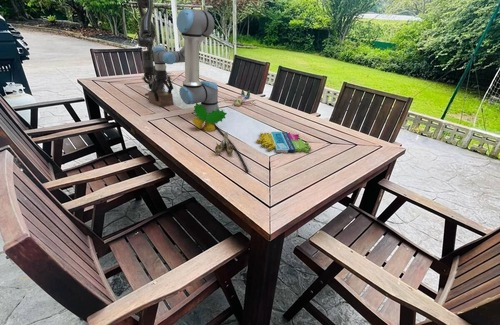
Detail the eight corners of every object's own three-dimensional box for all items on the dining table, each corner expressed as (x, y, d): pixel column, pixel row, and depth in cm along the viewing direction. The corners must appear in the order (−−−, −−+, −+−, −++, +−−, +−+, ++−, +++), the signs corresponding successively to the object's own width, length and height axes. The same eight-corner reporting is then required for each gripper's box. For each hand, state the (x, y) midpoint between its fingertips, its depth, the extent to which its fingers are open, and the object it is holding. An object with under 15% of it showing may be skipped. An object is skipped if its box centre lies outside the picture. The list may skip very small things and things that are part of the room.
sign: (313, 150, 142) (258, 149, 139) (312, 153, 143) (258, 152, 140) (301, 132, 164) (254, 130, 161) (301, 134, 165) (254, 133, 162)
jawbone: (234, 135, 144) (233, 125, 135) (233, 160, 138) (232, 151, 129) (217, 135, 144) (216, 125, 135) (216, 160, 138) (214, 150, 129)
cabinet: (149, 102, 204) (148, 91, 200) (161, 99, 211) (160, 89, 207) (161, 107, 195) (160, 96, 191) (173, 104, 203) (172, 93, 199)
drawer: (144, 98, 208) (143, 90, 205) (155, 96, 214) (154, 88, 211) (159, 104, 197) (158, 96, 194) (170, 102, 203) (169, 94, 200)
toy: (261, 91, 228) (254, 99, 202) (261, 99, 231) (253, 108, 205) (231, 87, 233) (220, 95, 207) (230, 95, 236) (219, 104, 210)
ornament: (218, 133, 171) (224, 110, 169) (221, 134, 163) (227, 111, 161) (186, 125, 162) (192, 101, 160) (189, 126, 155) (195, 101, 153)
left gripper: (153, 64, 204) (155, 86, 212) (137, 65, 195) (140, 89, 203) (159, 65, 200) (161, 88, 208) (143, 67, 191) (146, 91, 199)
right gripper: (170, 67, 199) (173, 96, 210) (143, 70, 183) (147, 101, 194) (177, 69, 195) (179, 98, 206) (149, 72, 179) (152, 103, 190)
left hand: (151, 88), depth 206 cm, fingers closed
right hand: (163, 99), depth 200 cm, fingers closed on cabinet, 10 cm apart
